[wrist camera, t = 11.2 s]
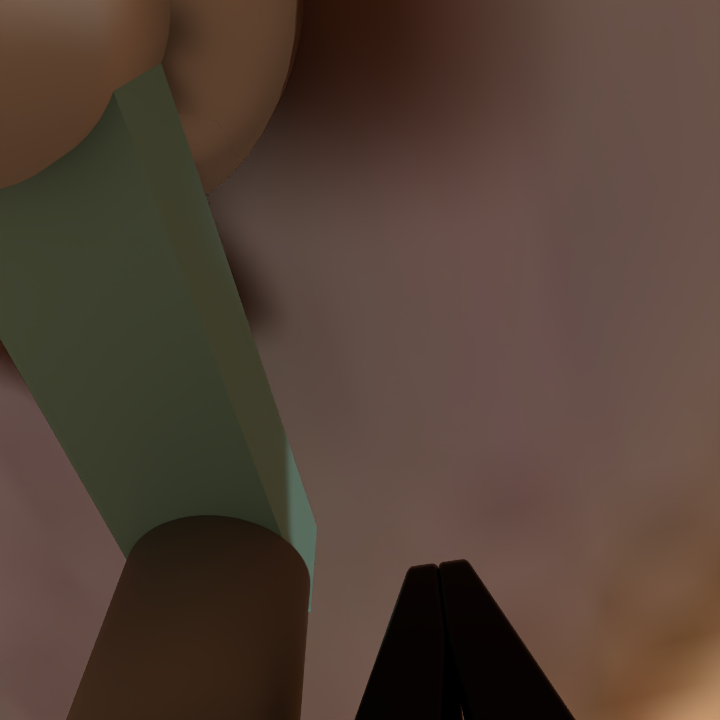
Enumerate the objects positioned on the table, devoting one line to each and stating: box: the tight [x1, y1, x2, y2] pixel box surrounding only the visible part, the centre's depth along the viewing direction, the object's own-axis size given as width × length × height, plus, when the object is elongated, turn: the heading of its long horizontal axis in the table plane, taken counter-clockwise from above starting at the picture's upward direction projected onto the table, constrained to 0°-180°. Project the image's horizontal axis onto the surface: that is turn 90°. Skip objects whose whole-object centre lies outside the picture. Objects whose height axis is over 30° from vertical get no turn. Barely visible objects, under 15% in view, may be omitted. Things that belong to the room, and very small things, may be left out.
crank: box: [0, 0, 317, 720], centre depth 7 cm, size 11×3×5 cm, turn 12°
